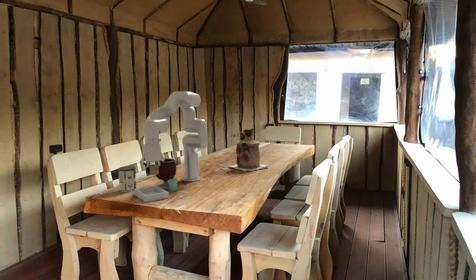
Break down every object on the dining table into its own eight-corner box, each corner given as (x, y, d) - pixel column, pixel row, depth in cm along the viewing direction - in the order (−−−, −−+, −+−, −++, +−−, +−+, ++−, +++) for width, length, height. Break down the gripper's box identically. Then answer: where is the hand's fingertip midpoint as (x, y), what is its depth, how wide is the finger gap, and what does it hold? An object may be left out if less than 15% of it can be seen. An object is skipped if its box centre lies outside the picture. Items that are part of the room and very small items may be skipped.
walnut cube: (147, 173, 211) (147, 164, 210) (155, 172, 214) (155, 163, 213) (150, 175, 207) (150, 166, 206) (158, 173, 210) (158, 165, 209)
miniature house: (128, 186, 237) (127, 165, 235) (140, 189, 232) (139, 167, 230) (115, 190, 228) (114, 168, 226) (127, 192, 223) (126, 170, 221)
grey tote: (134, 194, 219) (134, 188, 219) (157, 191, 227) (156, 185, 227) (145, 202, 204) (144, 196, 204) (168, 198, 212) (168, 192, 212)
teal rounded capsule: (167, 190, 229) (167, 179, 228) (175, 188, 232) (175, 178, 231) (171, 191, 225) (170, 180, 224) (178, 190, 228) (178, 179, 227)
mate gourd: (181, 185, 241) (180, 155, 238) (165, 190, 229) (165, 158, 227) (164, 182, 249) (163, 152, 247) (148, 186, 238) (147, 156, 235)
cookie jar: (249, 163, 313) (249, 126, 308) (269, 168, 294) (270, 128, 290) (226, 167, 297) (226, 127, 293) (246, 172, 278) (246, 130, 274)
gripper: (163, 139, 216) (164, 170, 218) (135, 142, 206) (136, 173, 209) (168, 141, 210) (169, 172, 212) (139, 143, 200) (140, 176, 203)
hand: (152, 172), depth 210 cm, fingers closed on walnut cube, 5 cm apart
